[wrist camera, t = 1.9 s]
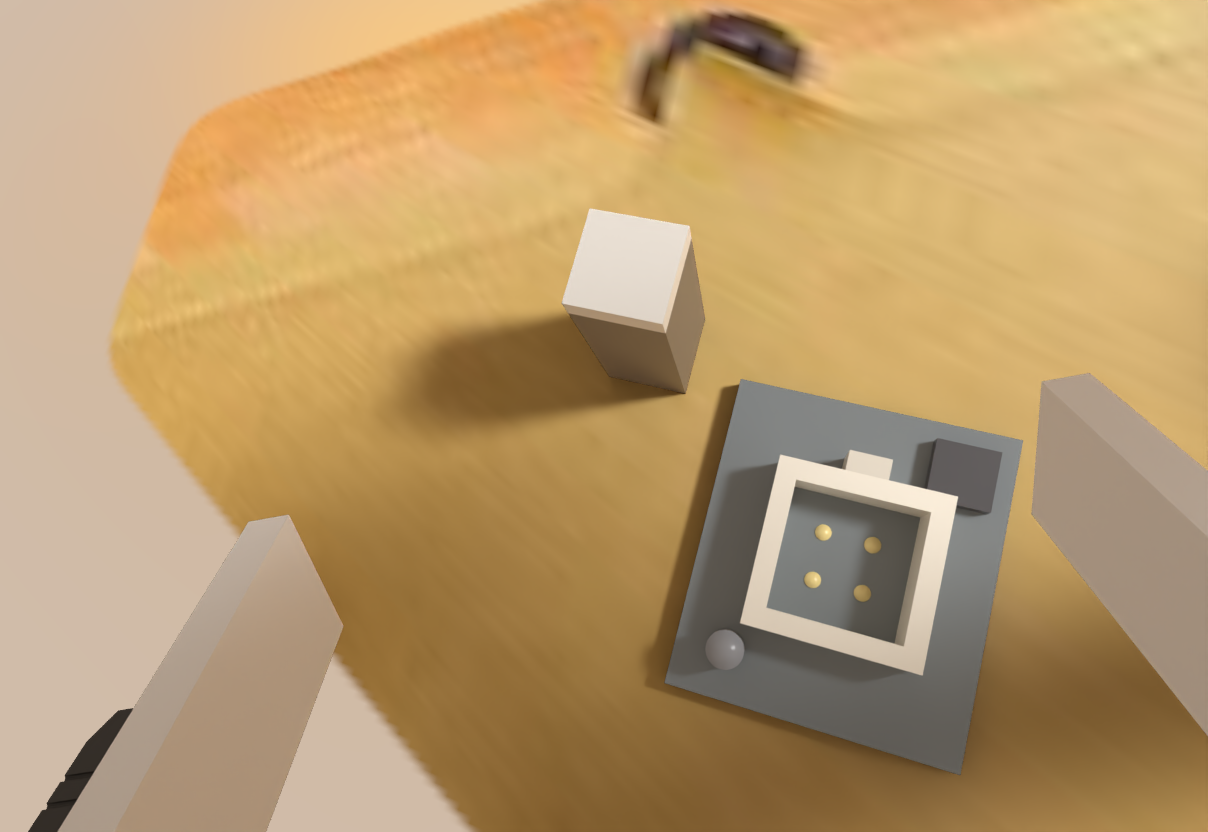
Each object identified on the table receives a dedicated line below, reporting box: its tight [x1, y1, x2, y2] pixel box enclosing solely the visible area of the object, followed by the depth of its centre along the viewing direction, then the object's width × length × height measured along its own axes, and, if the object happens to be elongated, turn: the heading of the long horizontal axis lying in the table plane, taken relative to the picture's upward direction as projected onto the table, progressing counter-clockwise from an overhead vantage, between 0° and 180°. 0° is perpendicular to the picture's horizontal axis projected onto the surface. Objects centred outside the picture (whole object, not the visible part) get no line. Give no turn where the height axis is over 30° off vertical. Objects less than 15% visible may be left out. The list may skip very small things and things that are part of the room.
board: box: [665, 379, 1023, 775], centre depth 39 cm, size 16×14×4 cm
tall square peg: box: [562, 209, 705, 394], centre depth 39 cm, size 4×4×12 cm
